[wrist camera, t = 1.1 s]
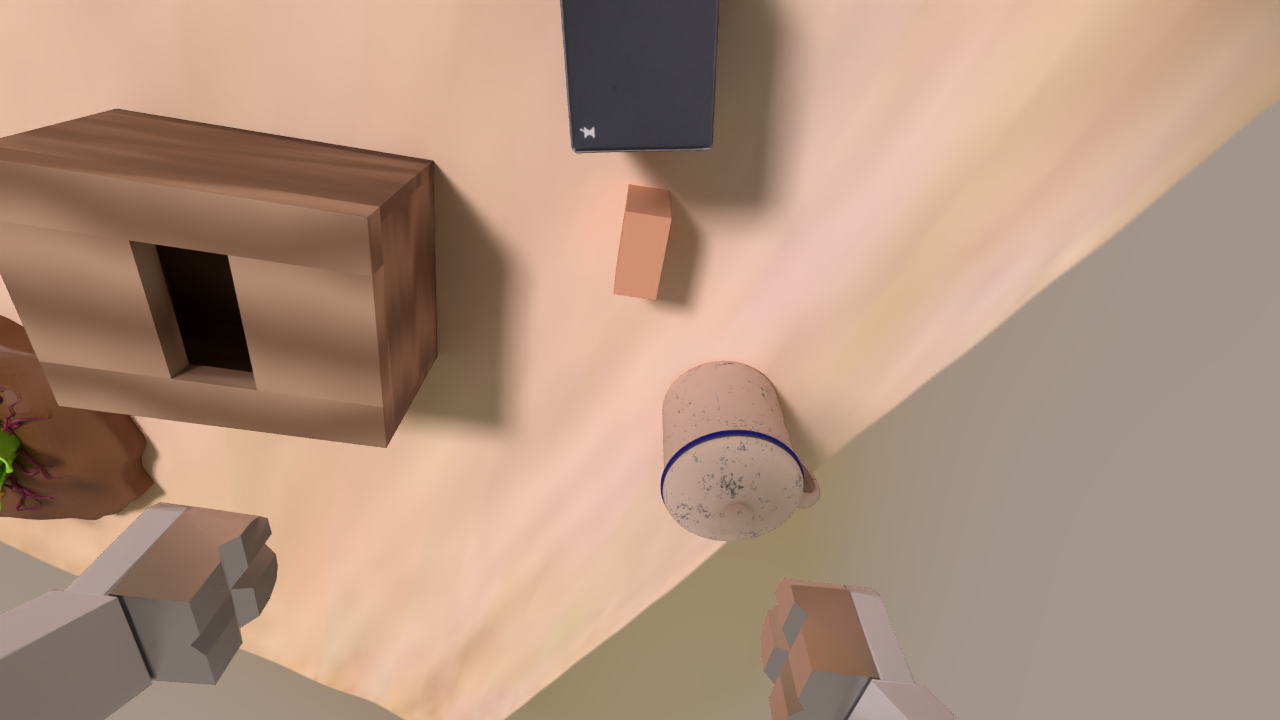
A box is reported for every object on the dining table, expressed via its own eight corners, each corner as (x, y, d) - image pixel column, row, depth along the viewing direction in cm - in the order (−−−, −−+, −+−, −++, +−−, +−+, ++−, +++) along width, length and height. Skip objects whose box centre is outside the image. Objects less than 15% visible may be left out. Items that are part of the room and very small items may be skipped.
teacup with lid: (638, 426, 47) (634, 545, 37) (698, 336, 43) (712, 445, 33) (767, 480, 50) (796, 605, 40) (836, 402, 45) (888, 520, 36)
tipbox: (116, 108, 35) (-54, 151, 27) (432, 160, 36) (367, 217, 28) (176, 319, 42) (58, 405, 34) (437, 356, 44) (386, 447, 35)
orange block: (628, 184, 37) (626, 211, 33) (669, 190, 37) (671, 218, 33) (617, 259, 40) (613, 293, 35) (655, 265, 40) (655, 300, 36)
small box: (701, 109, 35) (718, 157, 26) (587, 111, 35) (565, 159, 26) (708, -127, 29) (734, -171, 20) (572, -123, 29) (538, -165, 20)
